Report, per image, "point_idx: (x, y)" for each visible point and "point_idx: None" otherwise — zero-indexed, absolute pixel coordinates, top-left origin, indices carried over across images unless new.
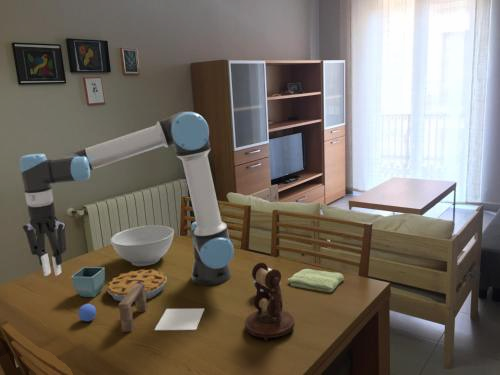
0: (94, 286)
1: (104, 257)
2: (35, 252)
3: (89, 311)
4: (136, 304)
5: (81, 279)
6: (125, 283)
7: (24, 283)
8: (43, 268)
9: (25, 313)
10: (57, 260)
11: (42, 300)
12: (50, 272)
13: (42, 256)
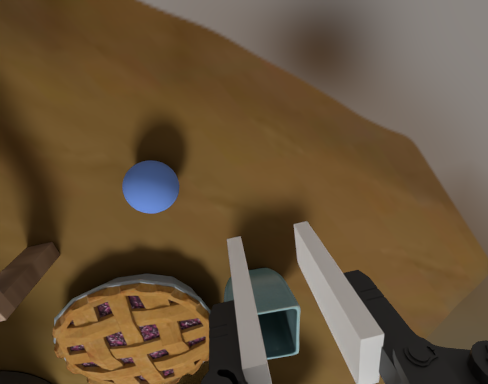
0: (224, 295)
1: None
2: (483, 377)
3: (125, 180)
4: (36, 256)
5: (261, 305)
6: (158, 328)
7: (450, 282)
8: (324, 252)
9: (367, 172)
10: (225, 336)
11: (360, 233)
12: (298, 260)
13: (373, 344)
